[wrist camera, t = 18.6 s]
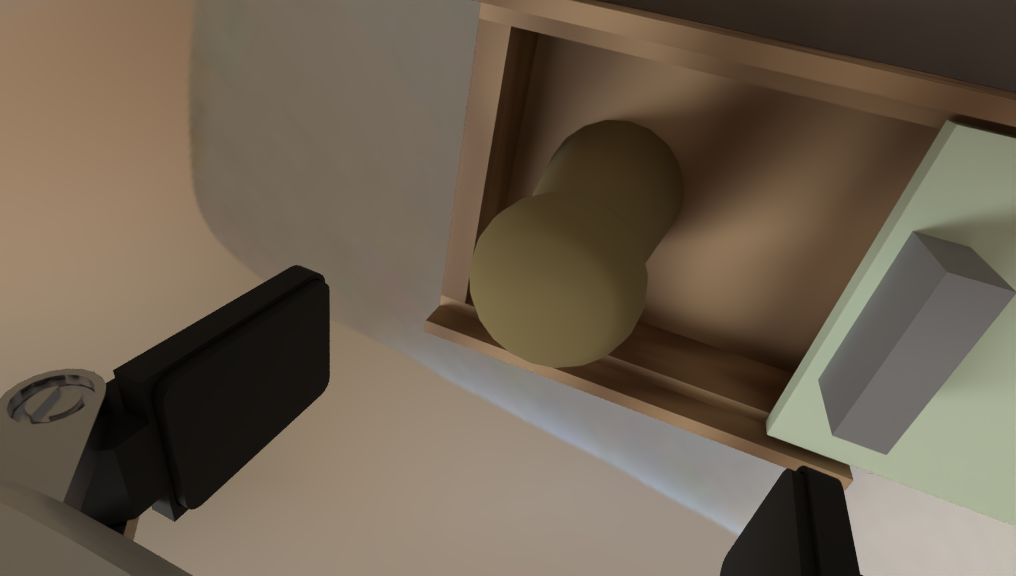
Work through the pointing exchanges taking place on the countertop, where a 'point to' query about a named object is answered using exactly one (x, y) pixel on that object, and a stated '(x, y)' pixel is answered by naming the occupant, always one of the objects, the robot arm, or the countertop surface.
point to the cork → (578, 247)
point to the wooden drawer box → (703, 193)
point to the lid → (926, 337)
